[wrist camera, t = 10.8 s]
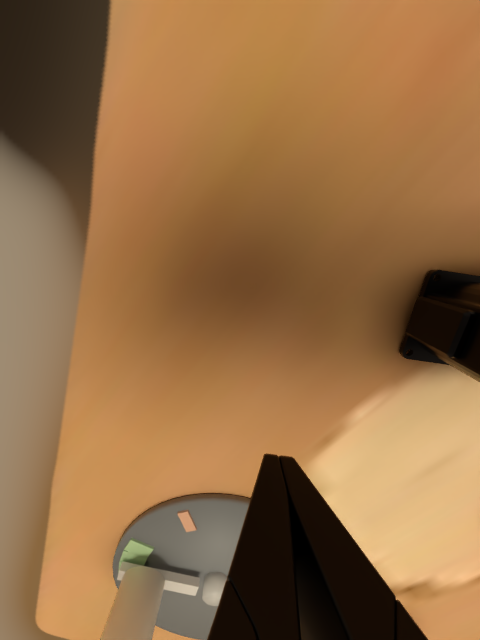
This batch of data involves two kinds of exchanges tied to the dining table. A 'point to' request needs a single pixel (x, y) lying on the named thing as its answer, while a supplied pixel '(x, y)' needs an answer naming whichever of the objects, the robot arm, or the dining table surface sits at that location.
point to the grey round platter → (187, 554)
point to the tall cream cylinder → (142, 600)
